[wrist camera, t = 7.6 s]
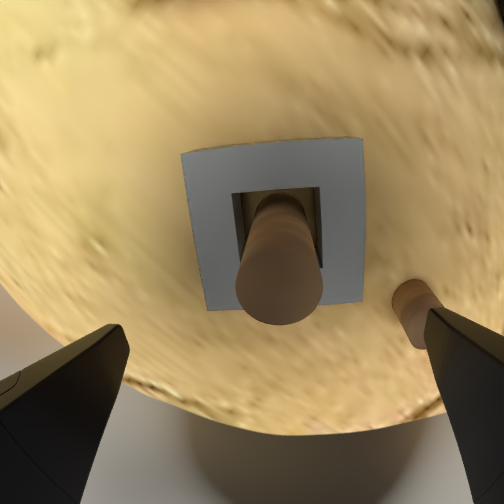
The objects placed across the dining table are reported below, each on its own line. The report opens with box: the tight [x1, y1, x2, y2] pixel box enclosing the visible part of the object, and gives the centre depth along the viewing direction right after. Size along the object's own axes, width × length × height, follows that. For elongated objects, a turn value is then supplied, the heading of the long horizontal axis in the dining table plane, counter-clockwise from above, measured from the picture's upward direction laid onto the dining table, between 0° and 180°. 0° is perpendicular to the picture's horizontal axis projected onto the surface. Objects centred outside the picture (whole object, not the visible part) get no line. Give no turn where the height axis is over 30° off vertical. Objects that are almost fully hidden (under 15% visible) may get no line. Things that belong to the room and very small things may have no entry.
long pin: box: [235, 193, 323, 325], centre depth 15 cm, size 3×3×9 cm
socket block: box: [181, 137, 365, 311], centre depth 18 cm, size 9×9×3 cm
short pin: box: [392, 279, 444, 349], centre depth 19 cm, size 3×3×4 cm
